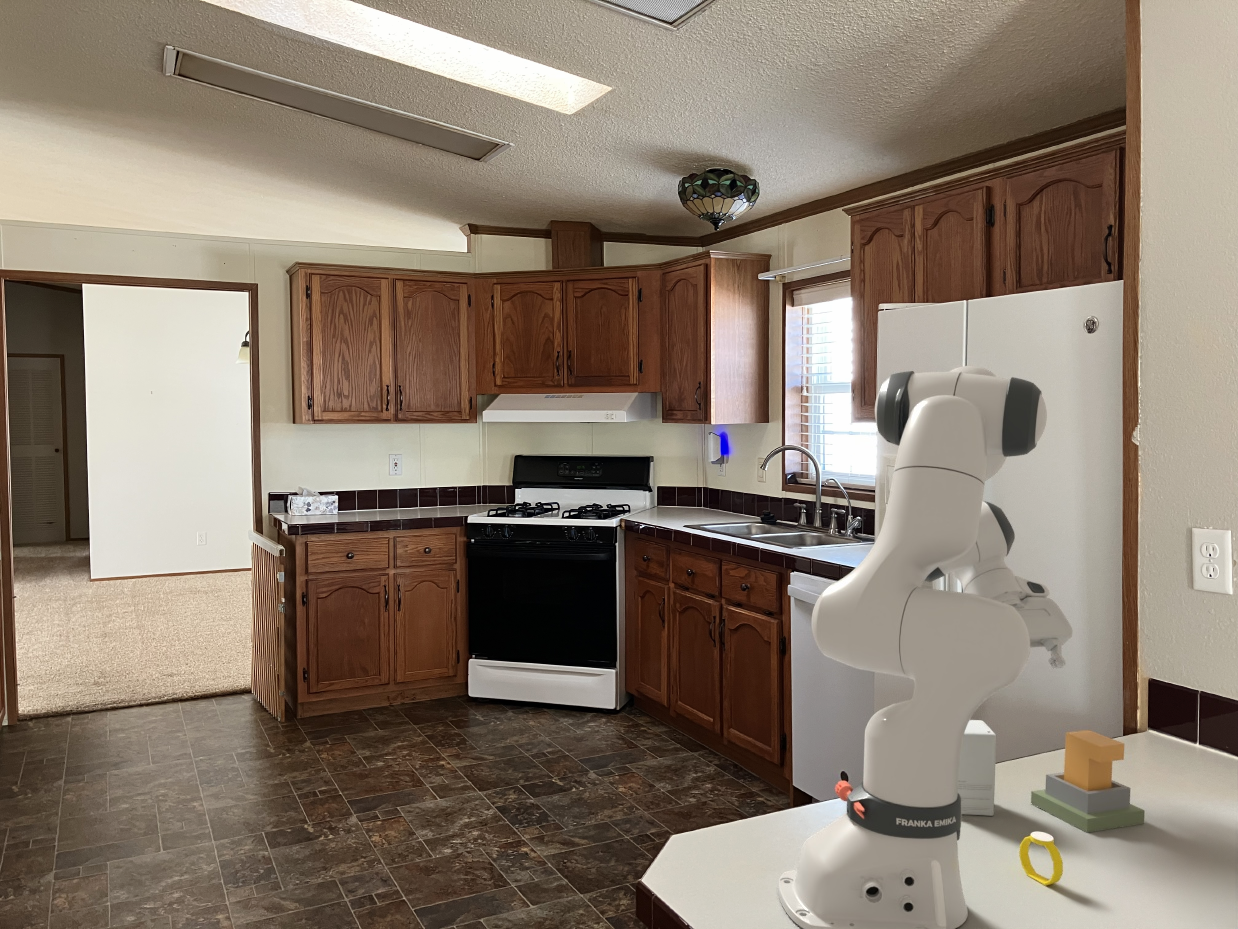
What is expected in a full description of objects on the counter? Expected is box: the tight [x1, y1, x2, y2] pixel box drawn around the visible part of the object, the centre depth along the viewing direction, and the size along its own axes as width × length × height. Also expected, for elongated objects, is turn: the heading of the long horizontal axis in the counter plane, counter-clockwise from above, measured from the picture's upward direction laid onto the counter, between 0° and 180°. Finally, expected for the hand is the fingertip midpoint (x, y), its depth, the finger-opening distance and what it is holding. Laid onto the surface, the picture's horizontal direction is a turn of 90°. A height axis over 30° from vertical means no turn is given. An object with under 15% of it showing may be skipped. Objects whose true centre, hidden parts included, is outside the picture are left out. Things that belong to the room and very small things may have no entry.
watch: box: [1018, 831, 1064, 887], centre depth 125 cm, size 6×3×6 cm, turn 23°
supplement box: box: [958, 719, 997, 817], centre depth 149 cm, size 7×7×13 cm
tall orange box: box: [1063, 729, 1125, 791], centre depth 146 cm, size 7×5×10 cm
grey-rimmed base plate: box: [1030, 771, 1146, 833], centre depth 147 cm, size 11×11×5 cm
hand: (1037, 668), depth 155 cm, fingers open, 8 cm apart
